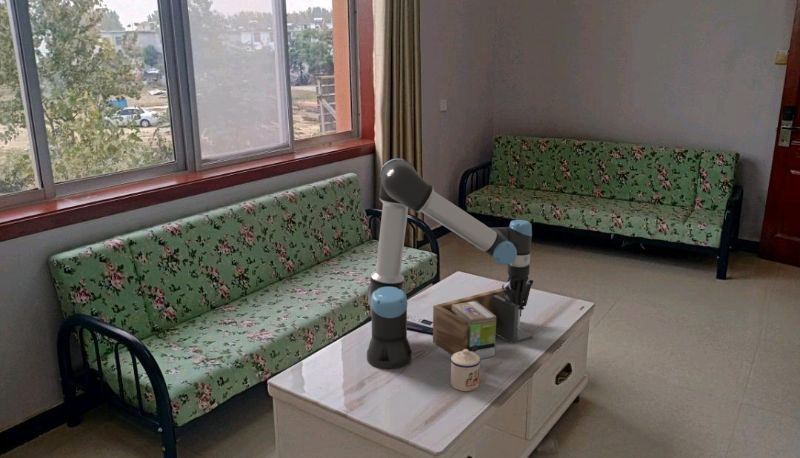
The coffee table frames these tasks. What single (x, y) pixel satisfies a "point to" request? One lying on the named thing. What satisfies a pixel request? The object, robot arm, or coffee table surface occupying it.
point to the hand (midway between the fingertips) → (515, 325)
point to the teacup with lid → (465, 370)
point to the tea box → (478, 327)
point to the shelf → (457, 322)
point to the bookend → (508, 320)
